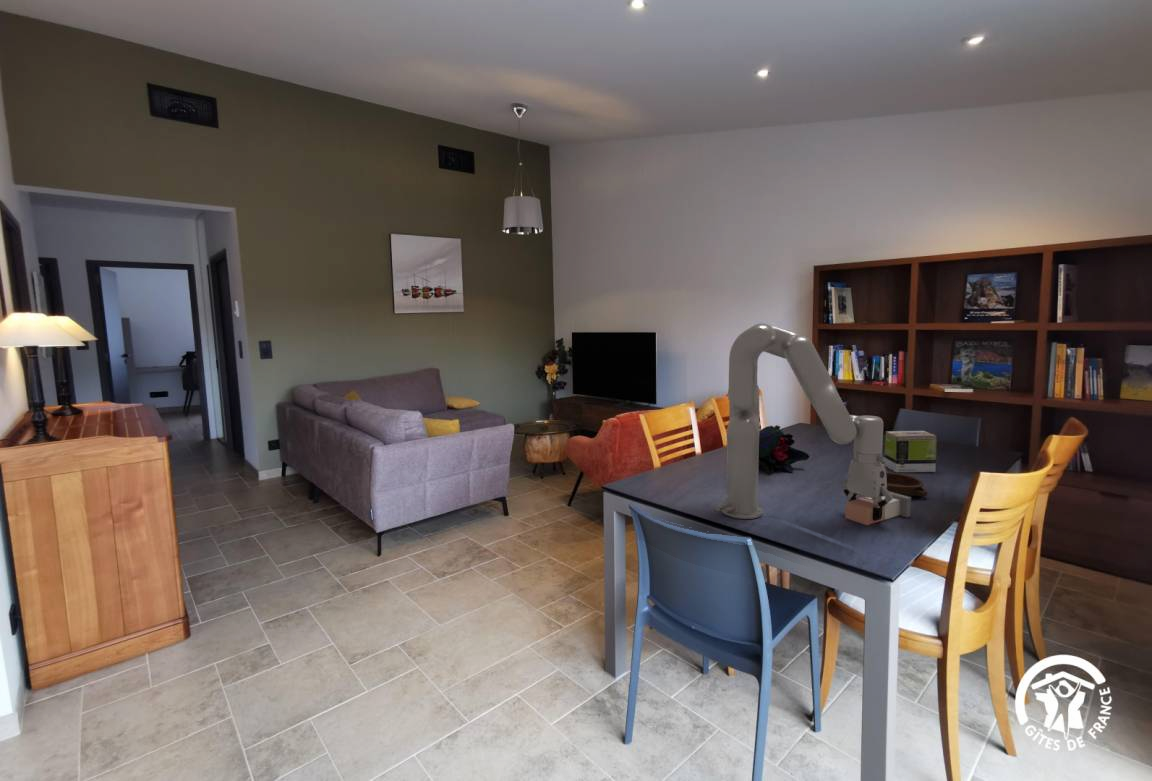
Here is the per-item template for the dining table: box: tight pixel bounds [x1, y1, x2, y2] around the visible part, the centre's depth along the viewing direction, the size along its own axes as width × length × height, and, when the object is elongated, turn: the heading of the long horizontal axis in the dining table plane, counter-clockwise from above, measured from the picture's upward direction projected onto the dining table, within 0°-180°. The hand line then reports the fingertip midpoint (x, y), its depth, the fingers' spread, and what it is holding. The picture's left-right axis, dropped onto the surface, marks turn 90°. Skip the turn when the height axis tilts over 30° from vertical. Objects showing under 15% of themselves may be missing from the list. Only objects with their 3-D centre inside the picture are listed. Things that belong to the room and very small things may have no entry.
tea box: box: [884, 430, 938, 473], centre depth 224 cm, size 15×10×15 cm, turn 84°
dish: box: [886, 471, 928, 497], centre depth 198 cm, size 18×22×5 cm
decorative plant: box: [758, 424, 810, 474], centre depth 226 cm, size 21×26×30 cm
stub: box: [844, 496, 885, 526], centre depth 170 cm, size 8×7×5 cm
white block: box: [864, 492, 912, 521], centre depth 175 cm, size 12×12×6 cm
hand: (864, 515), depth 170 cm, fingers closed on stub, 7 cm apart
